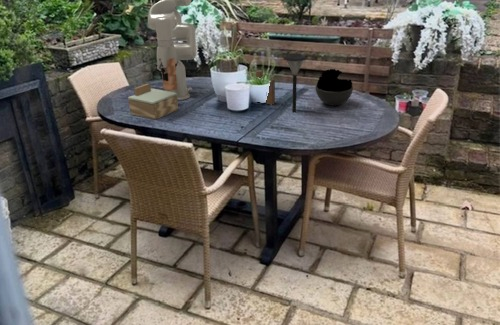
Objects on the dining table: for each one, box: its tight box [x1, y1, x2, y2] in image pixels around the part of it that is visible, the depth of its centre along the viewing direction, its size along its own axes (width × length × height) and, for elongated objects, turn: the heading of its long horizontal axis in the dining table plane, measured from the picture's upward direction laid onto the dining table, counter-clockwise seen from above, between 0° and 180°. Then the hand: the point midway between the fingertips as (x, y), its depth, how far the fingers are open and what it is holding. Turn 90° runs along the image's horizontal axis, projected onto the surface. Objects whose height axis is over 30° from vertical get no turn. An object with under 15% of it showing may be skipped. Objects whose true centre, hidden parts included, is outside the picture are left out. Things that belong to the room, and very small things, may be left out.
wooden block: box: [255, 69, 276, 105], centre depth 247 cm, size 4×11×18 cm, turn 60°
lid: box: [127, 83, 177, 104], centre depth 238 cm, size 18×18×5 cm
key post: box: [161, 58, 178, 92], centre depth 226 cm, size 5×5×16 cm
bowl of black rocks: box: [315, 68, 354, 106], centre depth 241 cm, size 20×20×19 cm
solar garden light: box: [282, 53, 308, 113], centre depth 230 cm, size 12×12×30 cm
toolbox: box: [128, 95, 179, 121], centre depth 241 cm, size 18×18×8 cm
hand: (169, 78), depth 227 cm, fingers closed on key post, 5 cm apart
